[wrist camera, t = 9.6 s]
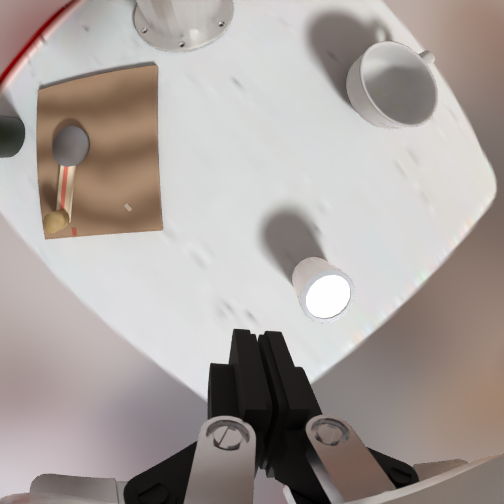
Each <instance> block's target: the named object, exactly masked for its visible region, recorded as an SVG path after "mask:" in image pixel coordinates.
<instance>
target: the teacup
mask: <svg viewBox="0 0 504 504" xmlns="http://www.w3.org/2000/svg"><path fill="white" fill-rule="evenodd" d="M434 61H435V57H434V55H433V54H432V53H431V52H430V51H428V50H427V51H424V52H422V53H420V54H417V53H416V52H414V51H413V50H412V49H410V48H409V47H407V46H405V45H403V44H401V43H398V42H394V41H381V42H377V43H375V44H373V45H371V46H370V47H368V48H367V49H366V51H365V52H364V53H363V54H362V55H361V56H360V57H359V58H358V59H357V60H356V61H355V62H354V63H353V64H352V66H351V67H350V69H349V71H348V75H347V79H346V89H347V94H348V97H349V100H350V102H351V104H352V106H353V108H354V109H355V110H356V112H357V113H358V114H359V115H360V116H361V117H362V118H363V119H365V120H366V121H367V122H369V123H371V124H372V125H375V126H377V127H381V128H386V129H397V128H404V127H416V126H419V125H422V124H424V123H425V122H427V121H428V120H429V119H430V118H431V117H432V116H433V114H434V112H435V110H436V107H437V103H438V90H437V85H436V82H435V79H434V76H433V74H432V72H431V70H430V69H429V67H428V66H429V65H430V64H432V63H433V62H434Z"/></svg>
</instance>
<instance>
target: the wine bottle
mask: <svg viewBox="0 0 504 504" xmlns="http://www.w3.org/2000/svg"><path fill="white" fill-rule="evenodd" d="M24 139H25V127H24V124H23V122H22V121H21V120H20V119H19V118H16V117H9V116H2V115H0V158H4V157H12V156H14V155H15V154H17V153H18V152H19V150H20V149H21V147H22V145H23V142H24Z"/></svg>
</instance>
